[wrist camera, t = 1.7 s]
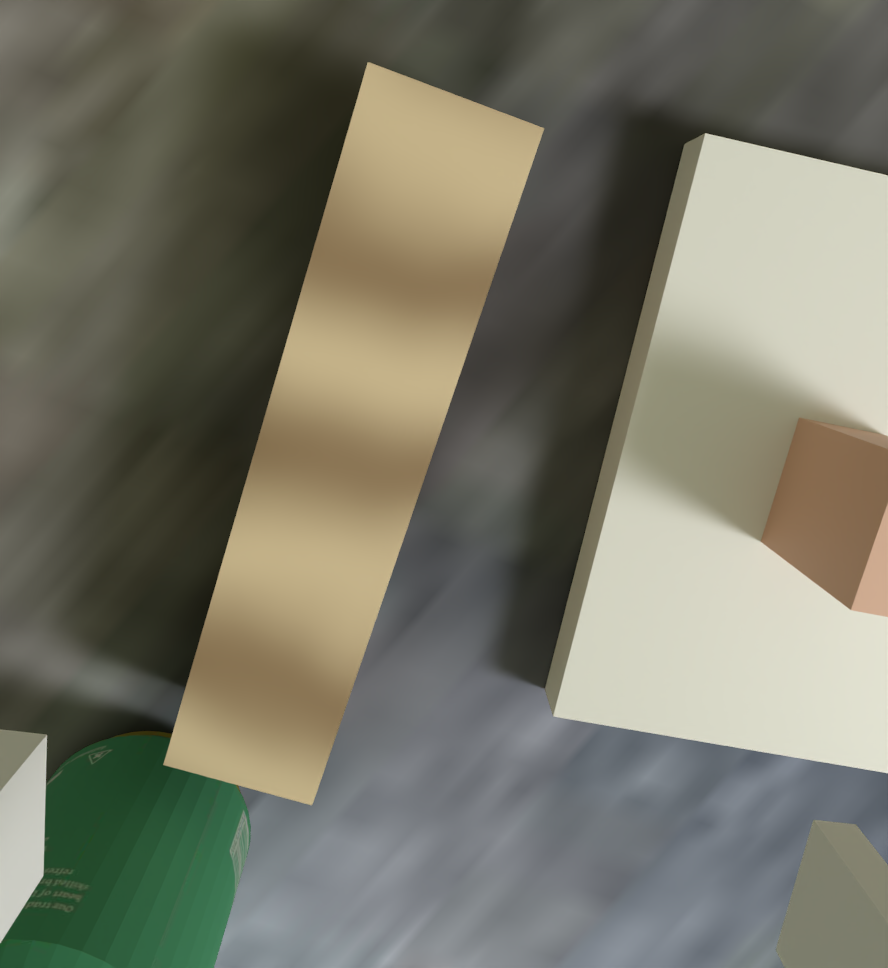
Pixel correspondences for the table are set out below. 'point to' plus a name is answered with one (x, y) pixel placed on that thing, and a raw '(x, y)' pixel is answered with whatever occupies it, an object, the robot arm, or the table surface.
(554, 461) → the table surface
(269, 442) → the oak bar
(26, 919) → the beverage can
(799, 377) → the fulcrum
